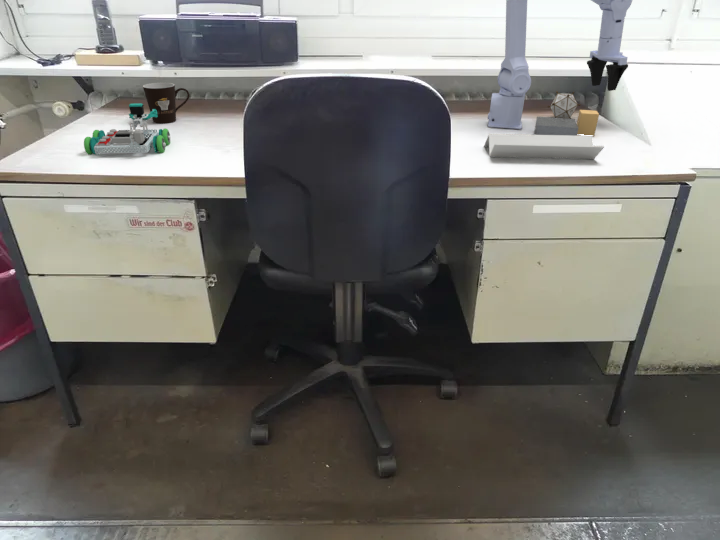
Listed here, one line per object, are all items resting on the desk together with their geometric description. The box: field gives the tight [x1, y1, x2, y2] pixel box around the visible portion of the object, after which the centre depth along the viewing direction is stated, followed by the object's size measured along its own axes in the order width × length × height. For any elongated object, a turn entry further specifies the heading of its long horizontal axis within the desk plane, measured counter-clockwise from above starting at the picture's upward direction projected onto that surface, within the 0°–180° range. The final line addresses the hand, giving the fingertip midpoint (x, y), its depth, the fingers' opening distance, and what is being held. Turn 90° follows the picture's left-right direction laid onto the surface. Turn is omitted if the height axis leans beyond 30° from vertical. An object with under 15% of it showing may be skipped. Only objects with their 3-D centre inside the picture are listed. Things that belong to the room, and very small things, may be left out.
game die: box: [547, 90, 582, 119], centre depth 161 cm, size 9×8×10 cm
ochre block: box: [576, 109, 600, 136], centre depth 147 cm, size 4×4×6 cm
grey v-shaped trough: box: [483, 133, 605, 160], centre depth 130 cm, size 12×25×6 cm
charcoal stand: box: [534, 116, 578, 136], centre depth 144 cm, size 10×10×4 cm
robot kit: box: [83, 103, 171, 155], centre depth 133 cm, size 19×25×9 cm
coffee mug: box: [142, 82, 190, 125], centre depth 153 cm, size 12×9×10 cm
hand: (603, 87), depth 154 cm, fingers open, 7 cm apart
